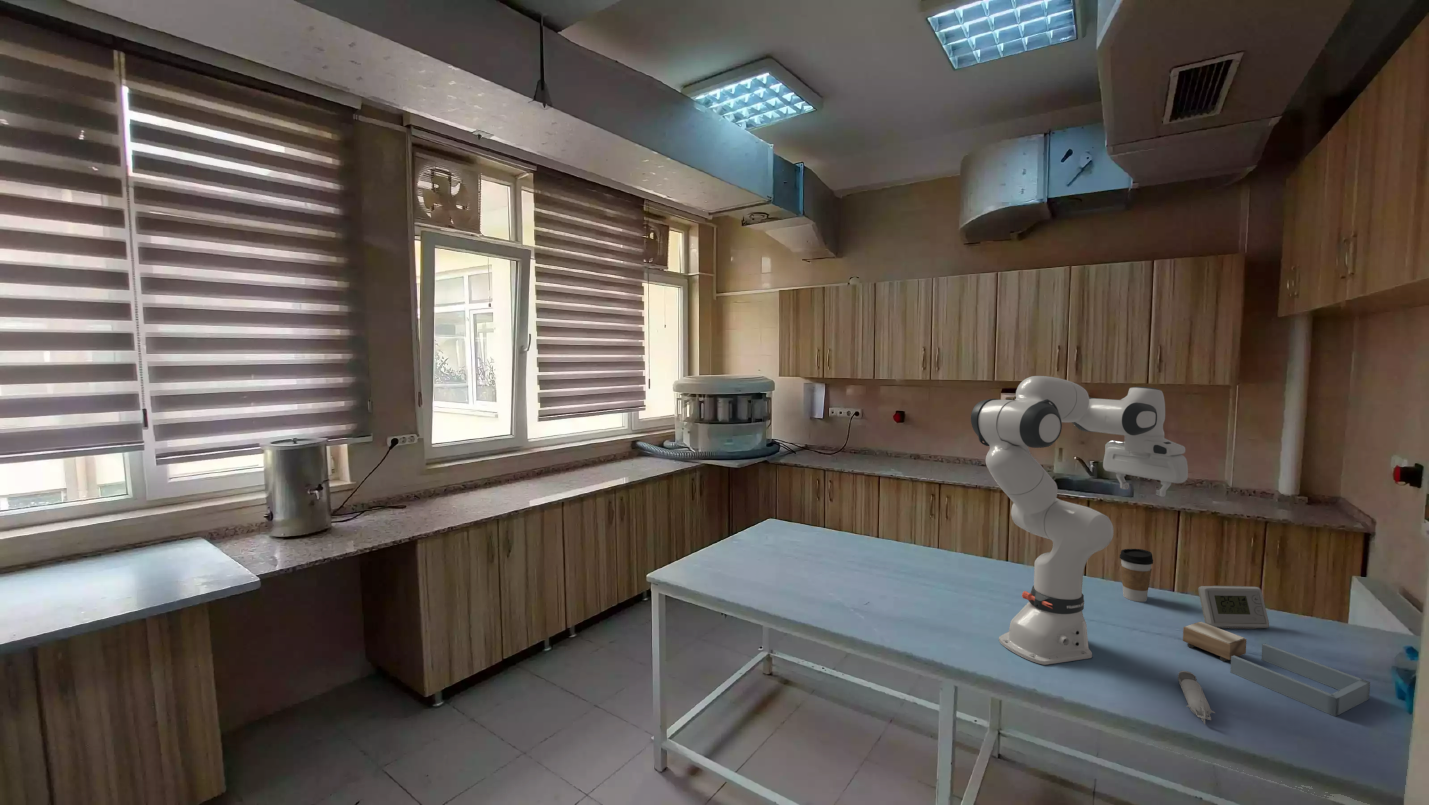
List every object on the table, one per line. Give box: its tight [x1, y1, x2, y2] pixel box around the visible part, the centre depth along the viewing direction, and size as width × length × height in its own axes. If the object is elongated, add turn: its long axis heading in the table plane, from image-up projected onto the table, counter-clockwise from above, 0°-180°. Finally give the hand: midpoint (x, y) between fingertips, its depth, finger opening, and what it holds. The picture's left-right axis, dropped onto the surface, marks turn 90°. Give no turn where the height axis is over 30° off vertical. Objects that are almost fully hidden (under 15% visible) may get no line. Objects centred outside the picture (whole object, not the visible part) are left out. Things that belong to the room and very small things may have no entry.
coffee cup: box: [1119, 548, 1154, 603], centre depth 173 cm, size 8×8×15 cm
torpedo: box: [1177, 670, 1216, 725], centre depth 122 cm, size 18×5×6 cm, turn 150°
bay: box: [1229, 643, 1371, 717], centre depth 128 cm, size 14×18×4 cm
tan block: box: [1182, 621, 1248, 662], centre depth 142 cm, size 7×10×5 cm
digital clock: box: [1197, 585, 1270, 630], centre depth 156 cm, size 16×9×11 cm, turn 72°
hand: (1142, 492), depth 156 cm, fingers open, 8 cm apart
